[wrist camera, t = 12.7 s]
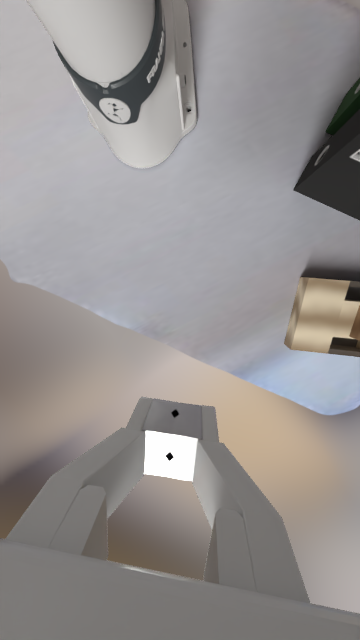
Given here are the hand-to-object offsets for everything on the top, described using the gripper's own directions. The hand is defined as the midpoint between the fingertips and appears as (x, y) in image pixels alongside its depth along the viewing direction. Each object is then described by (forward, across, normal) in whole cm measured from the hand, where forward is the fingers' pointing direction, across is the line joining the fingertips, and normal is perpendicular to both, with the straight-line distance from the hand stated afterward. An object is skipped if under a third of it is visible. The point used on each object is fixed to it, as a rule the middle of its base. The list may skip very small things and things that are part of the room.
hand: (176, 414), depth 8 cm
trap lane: (+33, -30, +1) cm, 45 cm away
